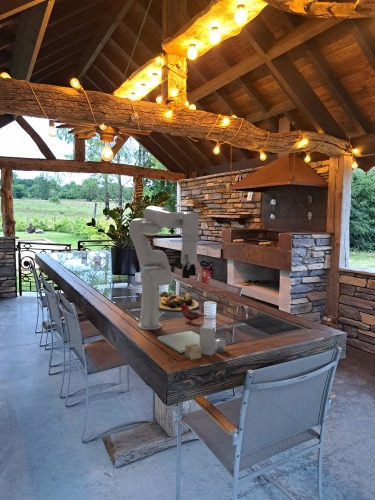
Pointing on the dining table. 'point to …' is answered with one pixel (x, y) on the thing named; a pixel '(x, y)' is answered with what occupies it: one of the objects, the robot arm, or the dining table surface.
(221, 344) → the grey metal canister
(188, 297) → the wooden plate with food
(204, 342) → the skincare box
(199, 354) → the beech block
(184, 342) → the sage tile board
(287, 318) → the dining table surface
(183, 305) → the decorative bird figurine
